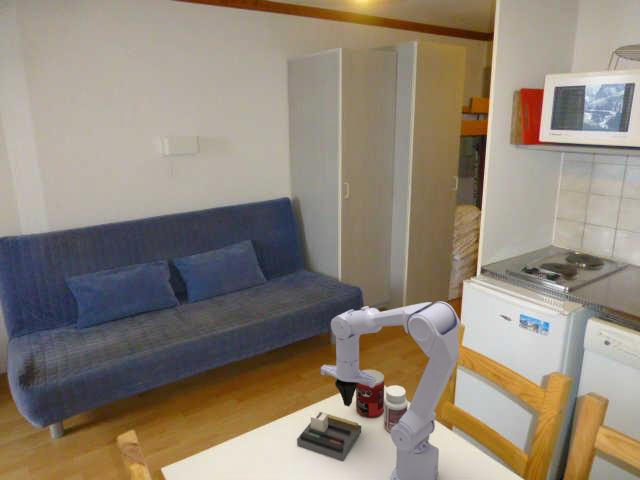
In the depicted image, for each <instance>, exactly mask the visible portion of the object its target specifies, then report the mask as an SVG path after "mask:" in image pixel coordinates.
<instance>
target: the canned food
mask: <svg viewBox="0 0 640 480" xmlns="http://www.w3.org/2000/svg"><path fill="white" fill-rule="evenodd" d="M361 371H362V372H364V373H366V374H368V375H370V376H373V377H376V384H375V386H374V387H373V388H371V387H369V385H366V384H362V383H358V385H357V387H356V390H355V407H356V411H357V413H358V414H359V415H360V416H362V417H364V418H369V419H370V418H371V419H372V418H377V417H380V416H381V415H382V414H383V413H384V400H385V375H384V374H383V373H382V372H381V371H378V370H377V369H376V370H375V369H363V370H361Z"/></svg>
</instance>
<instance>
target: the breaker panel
mask: <svg viewBox="0 0 640 480" xmlns="http://www.w3.org/2000/svg"><path fill="white" fill-rule="evenodd" d="M320 412H321V413H324V414H327V415H328V428H327V429H326V431H325V432H324V433H323V432H320V431H317V430H314V429H311V422H310V423H309V424H308V425H307V426H306V427H305V429H303V431H302V432H301V434H300V435H299V436H298V437H297V438H296V445H297V446H298V447H300V448H303V449H306V450H309V451H312V452H315V453H317V454H322V455H323V456H327V457H330V458H333V459H335V460H338V461H341V462H343V461H344V460H345V459H346V457H347V455H348V454H349V453H350V451H351V449H352V448H353V446H354V445H355V443H356V441H357V440H358V438H359V437H360V435H361V433H362V425H360V424H359V423H358V422H355V421H352V420H349V419H346V418H341V417H338V416H335V415H332V414H328V413H326V412H322V411H320Z"/></svg>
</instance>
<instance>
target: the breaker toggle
mask: <svg viewBox="0 0 640 480" xmlns="http://www.w3.org/2000/svg"><path fill="white" fill-rule="evenodd" d="M321 412H322V411H316V410H315V411H314V412H313V413H312V415H311V416H310V423H311V429H314V430H317V431H320V432H323V433H324V432H325V431H326V429H327V428H328V415H327V414H328V413H326V414H324V413H325V412H322V413H321Z"/></svg>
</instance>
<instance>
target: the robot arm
mask: <svg viewBox="0 0 640 480" xmlns="http://www.w3.org/2000/svg"><path fill="white" fill-rule="evenodd" d="M432 303H433V302H431V301H429V302H428V301H426V302H420V303H416V304H410V305H406V306H401V307H397V308H396V307H395V308H392V309H388V310H384V311H380V310H379V309H378V308H376V307H369V306H368V305H367V306H363V307H360V309H359V310H354V308H353V309H348V310H346V311H345V312H342V313H341V314H338V315H336V316H334V317H333V318H332V319H331V321H330V328H331V331H332V333H333V335H334V336H335V352H336V353H335V354H336V355H335V356H336V359H335V360H336V365H331V364H330V365H329V364H323V365H322V366H321V367H320V374H321V375H322V376H325V375H328V376H332V377H334V378H335V379H336V381H335V383H334V384H335V387H336V389H337V390H338V391H339V394H340V396H341V398H342V402H343V405H344V406H346V407H350V406H351V405H352V403H353V400H354V396H355V393H356V387H357V385H358V383H362V384H366V385H369V387H371V388H373V387H374V386H375V384H376V377H373V376H370V375H368V374H366V373H364V372H362V371H363V370H361V369H360V337H361V335H366V334H367V335H368V334H373V333H375V334H376V333H378V332H380V331H381V330H382V328H383V327H393V326H403V328H404V332H405V333H406V334H410V336H411V337H412V338H413V340H414V341H415V343H416V344H417V345H418V346H419V348H420V349H421V350H422V352H423V353H424V354H425V355H426V357H428V358H429V359H428V362H427V364H426V366H425V369H424V371H423V374H422V376H421V378H420V380H419V383H418V386H417V388H416V390H415V393H414V395H413V398H412V400H411V402H410V404H409V407H408V408H407V411H406V413H405V414H404V415H403V416H402V417H401V419H400V420H399V423H398V424H397V425H395V426H393V427H392V429H391V432H390V438H391V441H392V443H393V445H394V446H395V447H396V463H395V465H396V466H395V467H394V470H393V471H392V473H391V476H390V478H389V479H390V480H436V479H437V477H438V473H439V458H440V457H439V456H440V450H439V448H438V447H436V446H434V445H433V444H431V443H430V442H429V440H430V435H431V434H432V433H433V432H434V431H435V429H436V423H435V421H436V418H437V413H436V412H435V411H436V408H437V407H438V404H439V401H440V399H441V398H442V395H443V392H444V391H445V388H446V387H447V385H448V383H449V381H450V378H451V376H452V374H453V371H454V369H455V367H456V365H457V363H458V361H459V358H460V346H459V343H460V341H459V328H460V326H461V320H460V318H459V317H458V315H457V313H456V311H455V308H453V306H452V305H450V304H449V303H448V302H445V301H443V300H441V301H436V302H435V303H433V304H432ZM431 304H432V305H431Z"/></svg>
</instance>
